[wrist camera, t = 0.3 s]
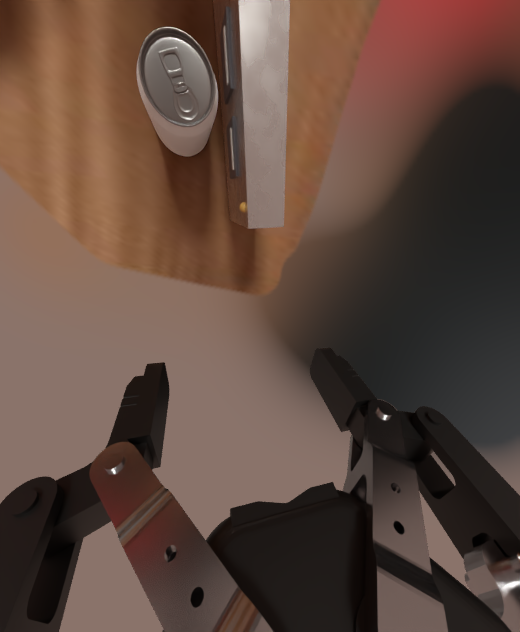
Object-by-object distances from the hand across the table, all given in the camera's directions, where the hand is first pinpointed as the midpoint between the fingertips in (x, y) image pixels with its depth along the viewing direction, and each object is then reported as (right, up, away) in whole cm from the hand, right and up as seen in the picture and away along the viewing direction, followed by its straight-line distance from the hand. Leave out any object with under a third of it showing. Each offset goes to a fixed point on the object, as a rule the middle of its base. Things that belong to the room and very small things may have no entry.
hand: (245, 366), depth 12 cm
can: (-9, +26, +16) cm, 32 cm away
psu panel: (-2, +27, +17) cm, 32 cm away
